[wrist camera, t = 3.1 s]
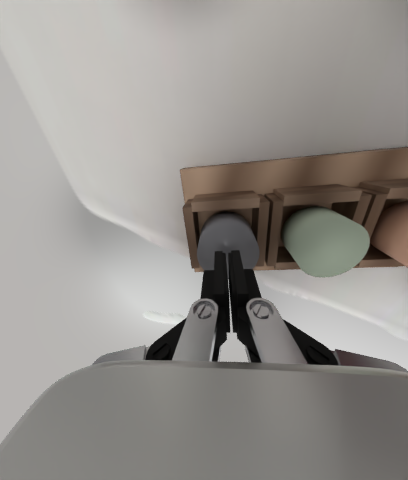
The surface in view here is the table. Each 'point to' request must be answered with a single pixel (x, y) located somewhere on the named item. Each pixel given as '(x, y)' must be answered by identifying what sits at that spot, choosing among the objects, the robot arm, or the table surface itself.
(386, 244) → the terracotta button
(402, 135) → the table surface
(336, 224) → the sage button
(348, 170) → the wooden compartment tray
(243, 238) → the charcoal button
